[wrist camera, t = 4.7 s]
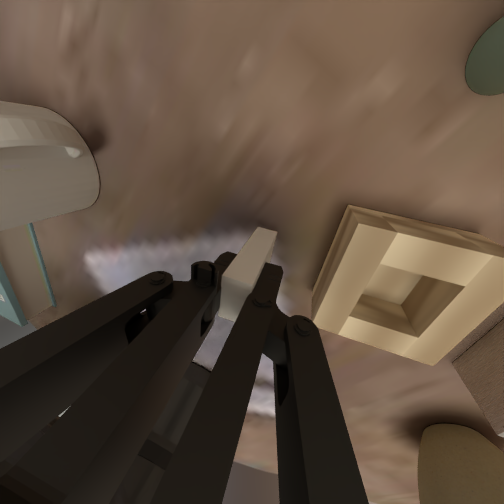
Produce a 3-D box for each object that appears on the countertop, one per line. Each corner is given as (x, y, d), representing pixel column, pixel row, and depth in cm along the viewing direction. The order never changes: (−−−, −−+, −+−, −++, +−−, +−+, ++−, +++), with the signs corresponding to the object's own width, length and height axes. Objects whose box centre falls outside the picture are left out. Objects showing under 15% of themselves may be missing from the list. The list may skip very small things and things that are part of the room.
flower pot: (377, 415, 23) (400, 512, 17) (486, 400, 18) (575, 532, 12) (426, 462, 24) (463, 567, 18) (540, 461, 19) (643, 606, 13)
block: (312, 291, 18) (311, 325, 14) (348, 204, 14) (358, 223, 10) (408, 320, 16) (432, 366, 13) (479, 234, 12) (542, 267, 9)
